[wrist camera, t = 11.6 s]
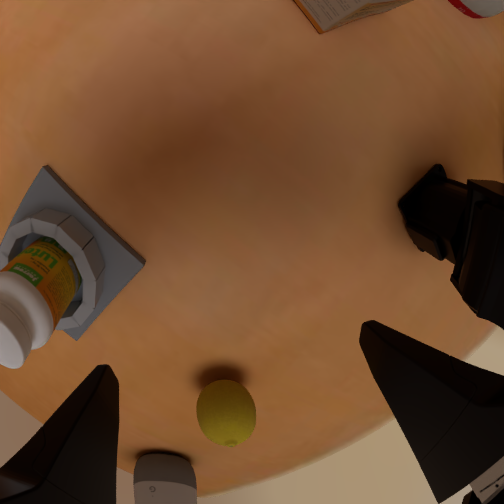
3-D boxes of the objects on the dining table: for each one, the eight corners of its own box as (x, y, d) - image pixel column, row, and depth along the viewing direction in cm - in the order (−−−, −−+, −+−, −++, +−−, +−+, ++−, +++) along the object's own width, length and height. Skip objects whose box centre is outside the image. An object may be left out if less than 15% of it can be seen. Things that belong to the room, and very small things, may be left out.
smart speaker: (150, 470, 35) (151, 538, 22) (124, 448, 31) (120, 528, 18) (201, 467, 36) (211, 539, 23) (182, 445, 32) (188, 532, 19)
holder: (47, 165, 16) (25, 172, 13) (145, 261, 21) (138, 281, 18) (-3, 260, 18) (-21, 276, 15) (79, 335, 22) (69, 358, 19)
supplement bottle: (80, 234, 18) (14, 307, 9) (89, 296, 20) (47, 385, 11) (26, 232, 17) (-47, 294, 8) (37, 291, 19) (-15, 367, 10)
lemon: (184, 382, 26) (185, 448, 19) (221, 355, 26) (232, 424, 18) (222, 402, 29) (231, 462, 21) (259, 378, 28) (276, 441, 21)
